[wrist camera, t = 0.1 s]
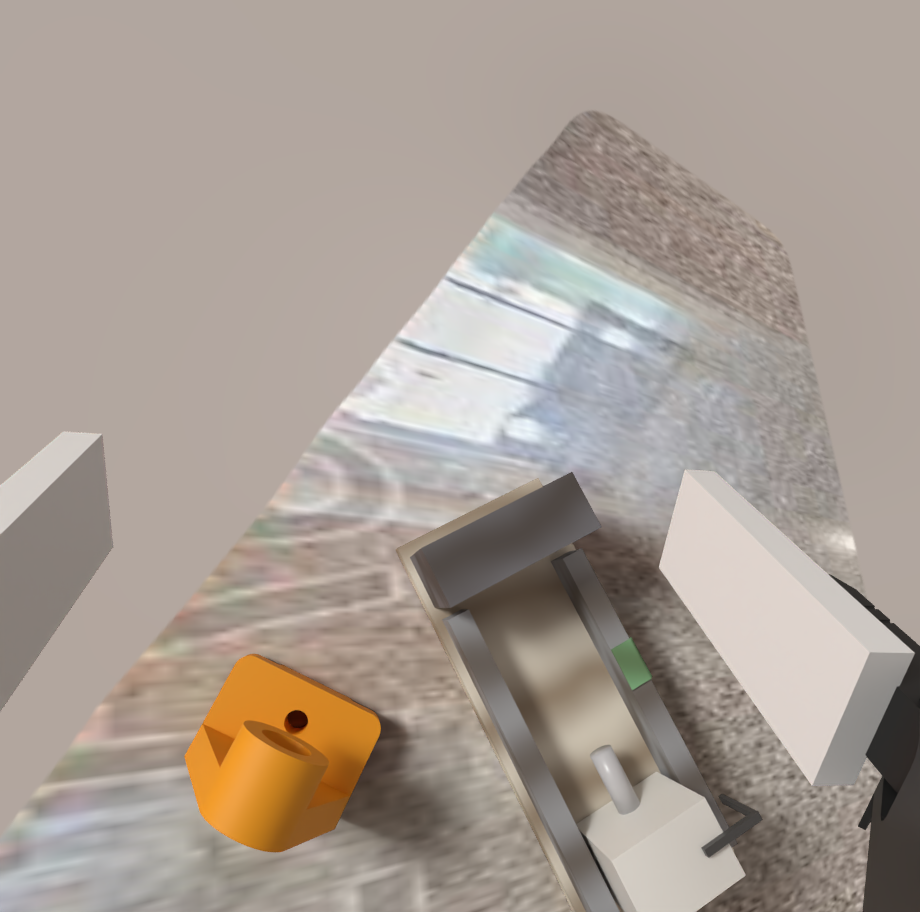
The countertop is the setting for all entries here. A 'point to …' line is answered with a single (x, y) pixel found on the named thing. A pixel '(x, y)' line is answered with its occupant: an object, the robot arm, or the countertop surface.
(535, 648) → the base
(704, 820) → the gauge carriage
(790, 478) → the countertop surface
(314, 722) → the bracket
